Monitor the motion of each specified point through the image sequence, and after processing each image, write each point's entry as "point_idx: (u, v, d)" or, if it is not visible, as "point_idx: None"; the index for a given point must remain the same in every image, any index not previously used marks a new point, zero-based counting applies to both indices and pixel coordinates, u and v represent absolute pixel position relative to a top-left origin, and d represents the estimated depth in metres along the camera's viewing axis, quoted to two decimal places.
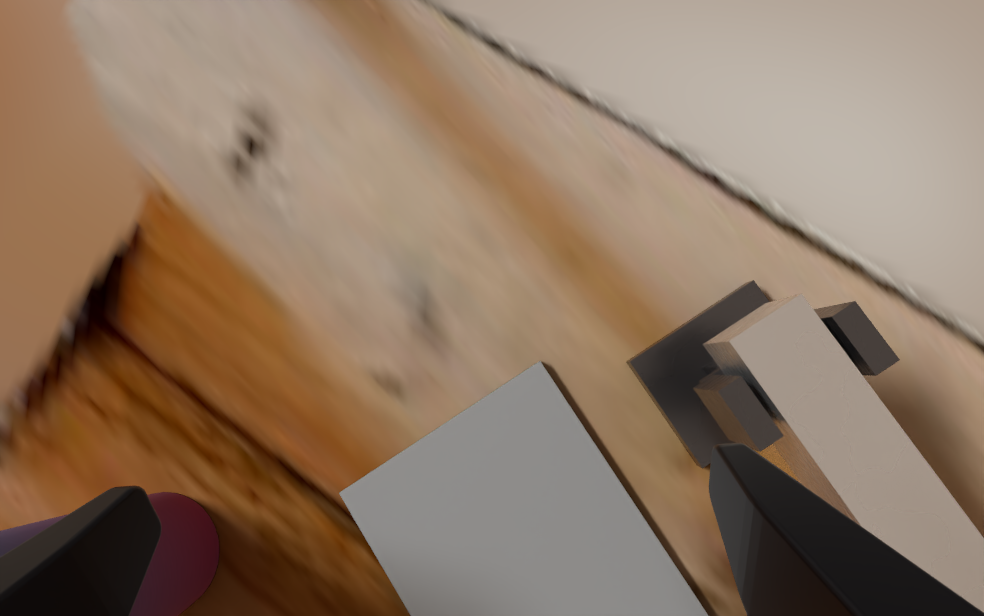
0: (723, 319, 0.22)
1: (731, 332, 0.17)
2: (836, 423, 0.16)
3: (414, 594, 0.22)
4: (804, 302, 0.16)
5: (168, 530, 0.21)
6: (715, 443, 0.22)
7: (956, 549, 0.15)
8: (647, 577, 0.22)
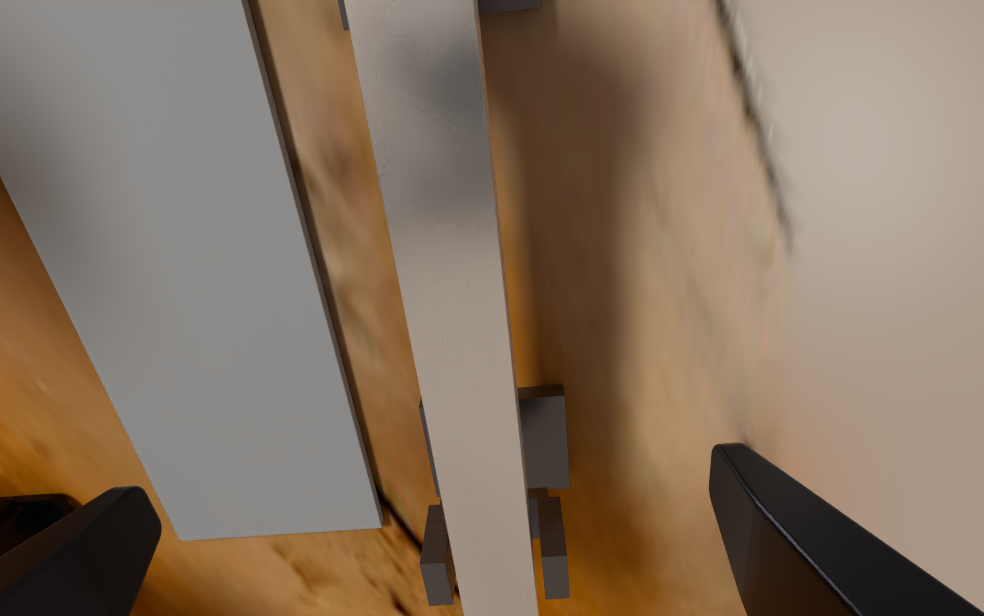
0: None
1: None
2: None
3: None
4: None
5: None
6: None
7: (456, 178, 0.12)
8: (238, 125, 0.18)
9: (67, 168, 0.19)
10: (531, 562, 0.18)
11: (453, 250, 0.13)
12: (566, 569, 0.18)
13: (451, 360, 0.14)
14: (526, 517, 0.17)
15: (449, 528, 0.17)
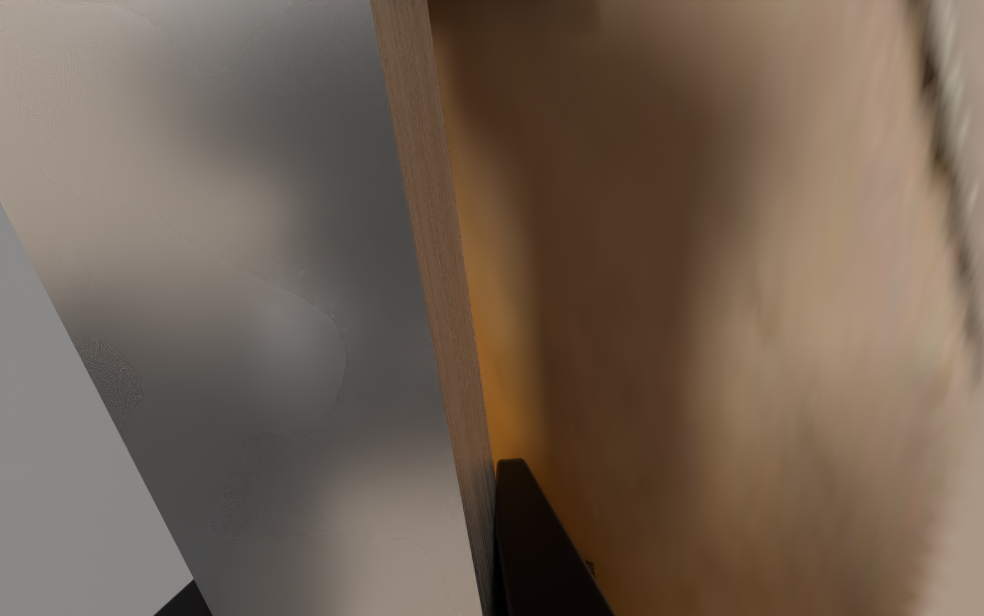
0: None
1: None
2: None
3: None
4: None
5: None
6: None
7: (346, 434, 0.04)
8: None
9: None
10: None
11: (355, 584, 0.05)
12: None
13: None
14: None
15: None
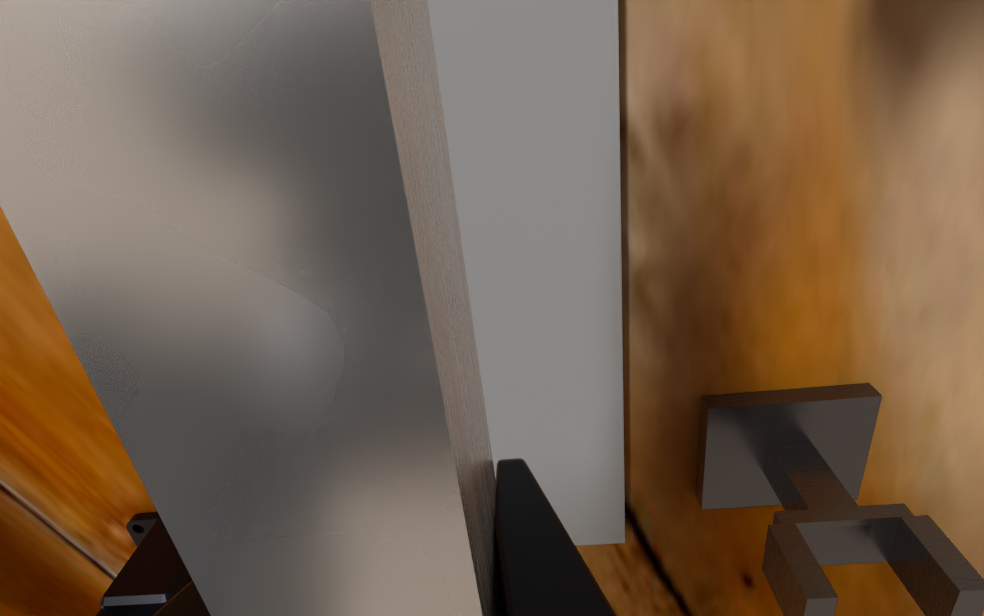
0: None
1: None
2: None
3: None
4: None
5: None
6: None
7: (344, 432, 0.04)
8: (576, 78, 0.16)
9: None
10: None
11: (354, 582, 0.05)
12: (983, 605, 0.15)
13: None
14: None
15: None
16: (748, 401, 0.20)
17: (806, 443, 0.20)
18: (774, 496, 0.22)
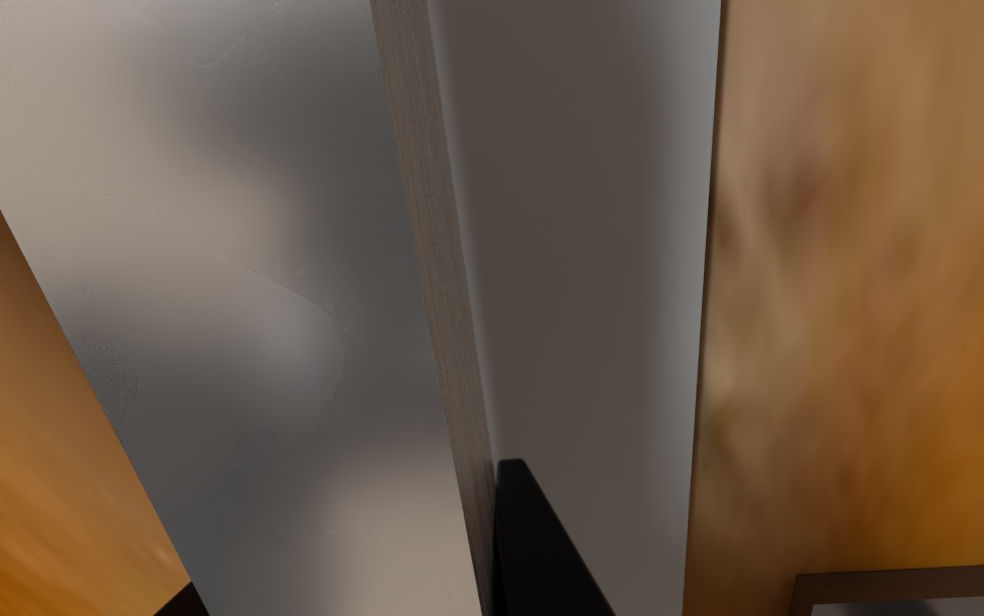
0: None
1: None
2: None
3: None
4: None
5: None
6: None
7: (343, 432, 0.04)
8: (638, 120, 0.09)
9: None
10: None
11: (353, 583, 0.05)
12: None
13: None
14: None
15: None
16: (872, 591, 0.14)
17: None
18: None
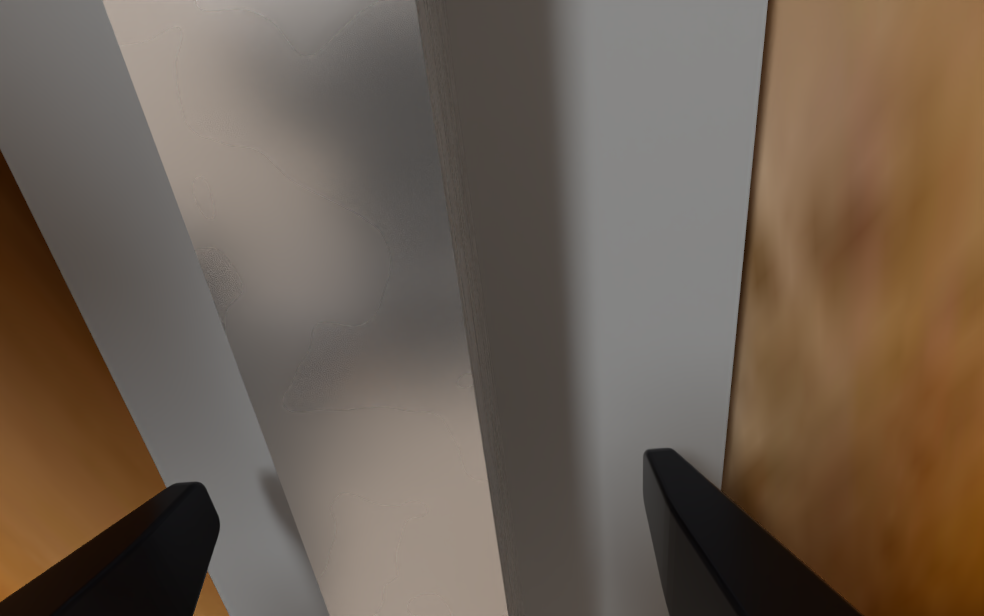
0: None
1: None
2: None
3: None
4: None
5: None
6: None
7: (388, 323, 0.06)
8: (662, 144, 0.07)
9: None
10: None
11: (390, 449, 0.06)
12: None
13: None
14: None
15: None
16: None
17: None
18: None
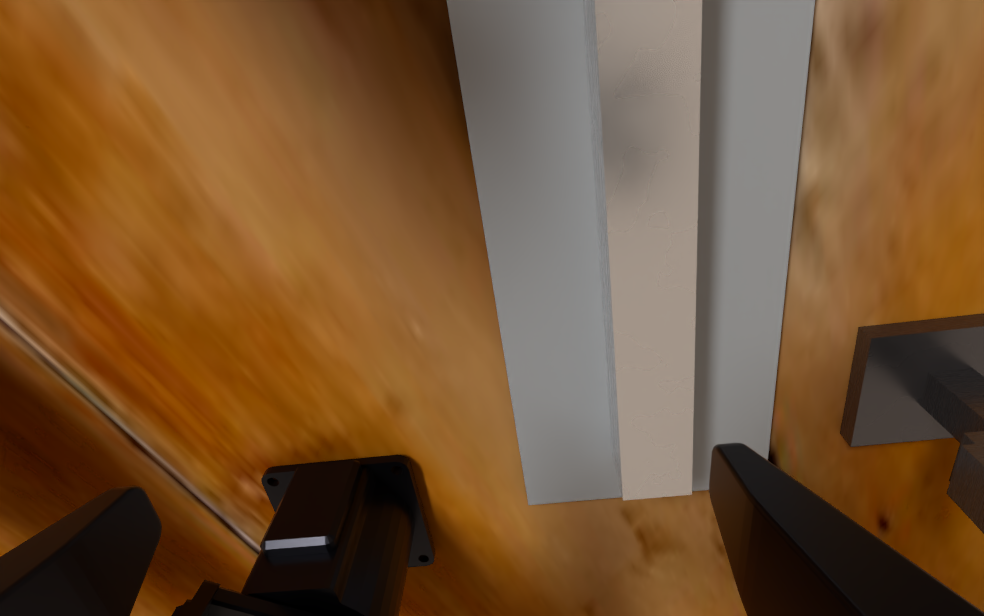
0: None
1: None
2: None
3: None
4: None
5: None
6: None
7: (668, 47, 0.14)
8: None
9: (541, 52, 0.16)
10: (691, 435, 0.19)
11: (657, 118, 0.14)
12: None
13: (642, 230, 0.16)
14: (692, 389, 0.18)
15: (619, 402, 0.19)
16: (911, 329, 0.20)
17: (970, 372, 0.20)
18: (928, 430, 0.21)
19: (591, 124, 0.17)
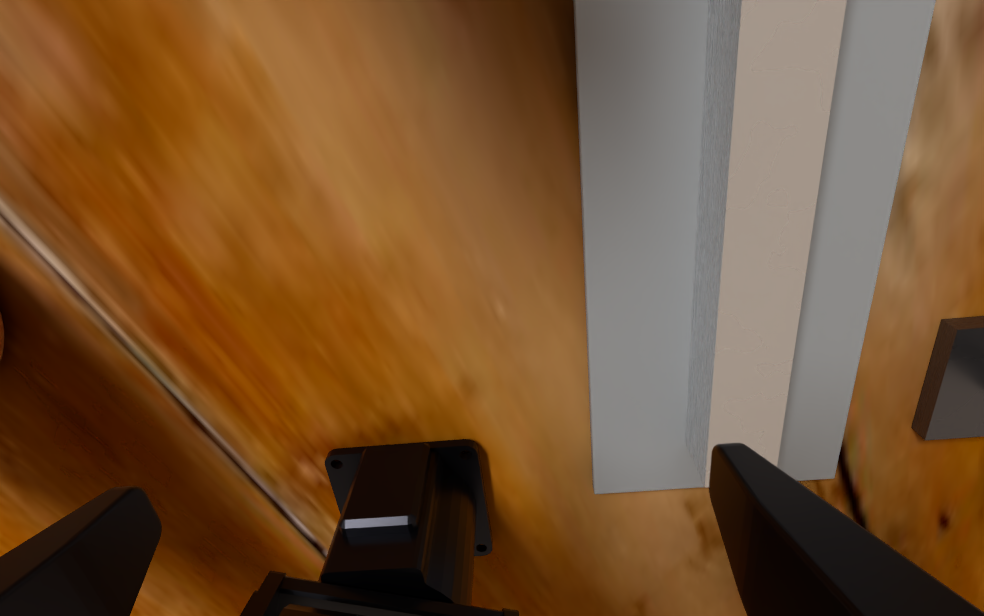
0: None
1: None
2: None
3: None
4: None
5: None
6: None
7: (811, 21, 0.14)
8: None
9: (663, 27, 0.16)
10: (782, 421, 0.19)
11: (790, 94, 0.14)
12: None
13: (760, 207, 0.16)
14: (789, 373, 0.18)
15: (714, 385, 0.18)
16: None
17: None
18: None
19: (706, 102, 0.17)
